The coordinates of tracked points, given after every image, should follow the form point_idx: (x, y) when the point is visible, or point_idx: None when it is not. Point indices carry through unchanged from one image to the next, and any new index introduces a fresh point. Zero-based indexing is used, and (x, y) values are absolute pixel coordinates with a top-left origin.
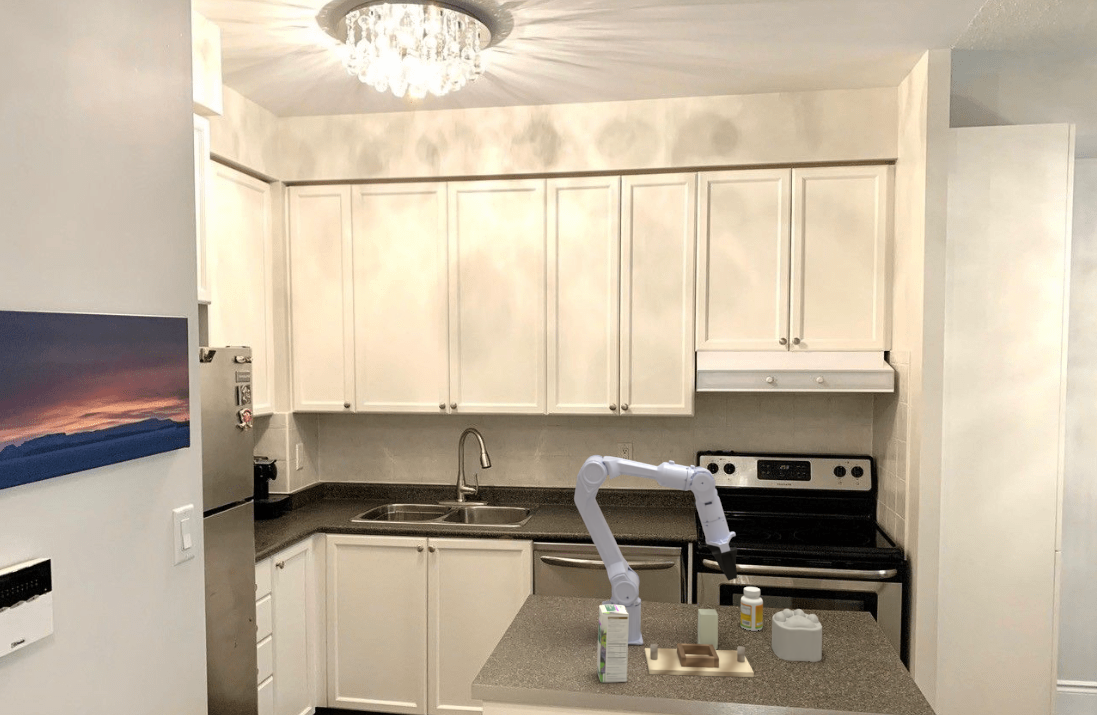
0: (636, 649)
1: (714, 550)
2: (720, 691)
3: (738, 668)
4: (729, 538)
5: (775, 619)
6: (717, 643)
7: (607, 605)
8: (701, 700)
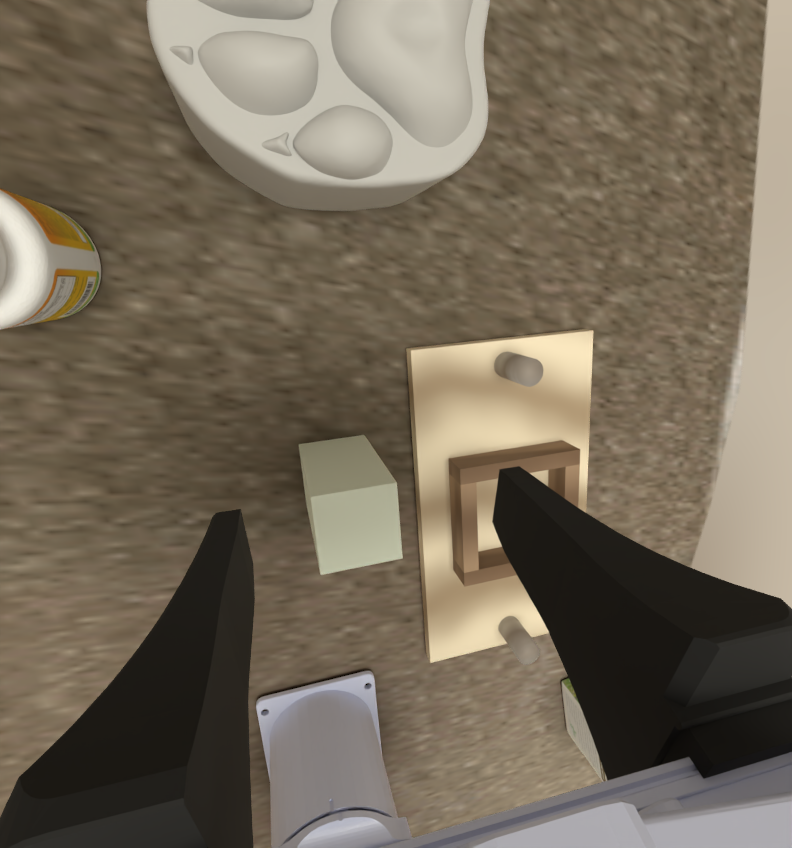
0: (405, 678)
1: (243, 791)
2: (668, 434)
3: (564, 378)
4: (780, 844)
5: (367, 176)
6: (369, 442)
7: None
8: (711, 481)
